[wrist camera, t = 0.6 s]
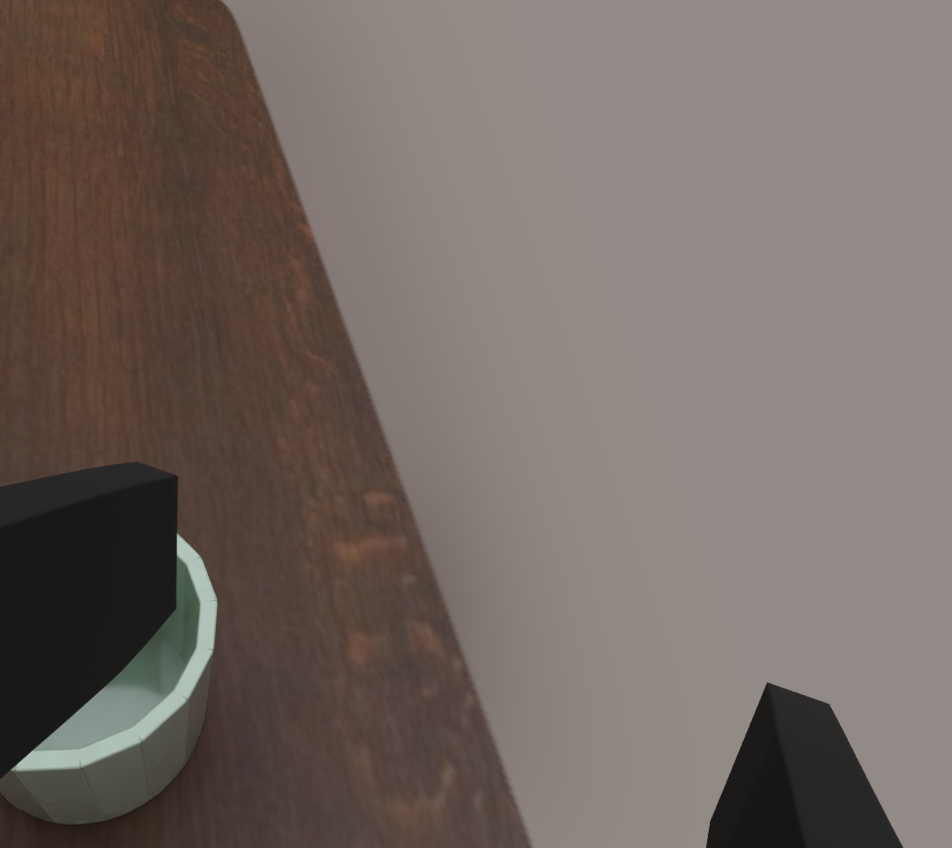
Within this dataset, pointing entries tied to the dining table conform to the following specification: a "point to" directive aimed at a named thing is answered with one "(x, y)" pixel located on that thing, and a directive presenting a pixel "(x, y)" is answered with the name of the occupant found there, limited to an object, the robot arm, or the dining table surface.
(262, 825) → the dining table surface
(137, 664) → the cup
